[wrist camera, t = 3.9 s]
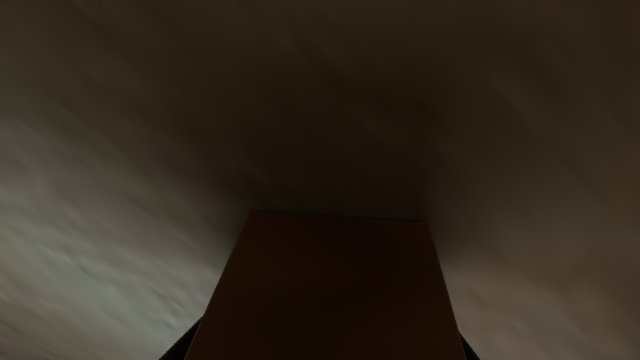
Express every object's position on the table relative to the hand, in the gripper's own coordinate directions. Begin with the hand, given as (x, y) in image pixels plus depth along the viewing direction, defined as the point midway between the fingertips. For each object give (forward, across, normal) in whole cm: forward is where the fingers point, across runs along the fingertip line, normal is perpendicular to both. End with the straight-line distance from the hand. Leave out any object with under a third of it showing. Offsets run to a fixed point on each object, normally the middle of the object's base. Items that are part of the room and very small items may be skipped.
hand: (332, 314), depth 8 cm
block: (+1, 0, 0) cm, 1 cm away
